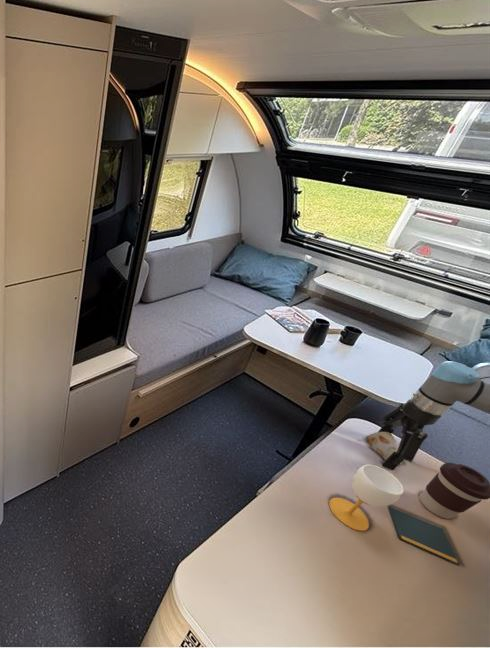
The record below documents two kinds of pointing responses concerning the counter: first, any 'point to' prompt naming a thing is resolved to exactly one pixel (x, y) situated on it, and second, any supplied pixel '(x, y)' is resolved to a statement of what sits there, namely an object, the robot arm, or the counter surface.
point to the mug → (382, 443)
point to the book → (422, 535)
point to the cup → (367, 495)
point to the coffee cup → (454, 490)
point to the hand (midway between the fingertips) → (382, 453)
